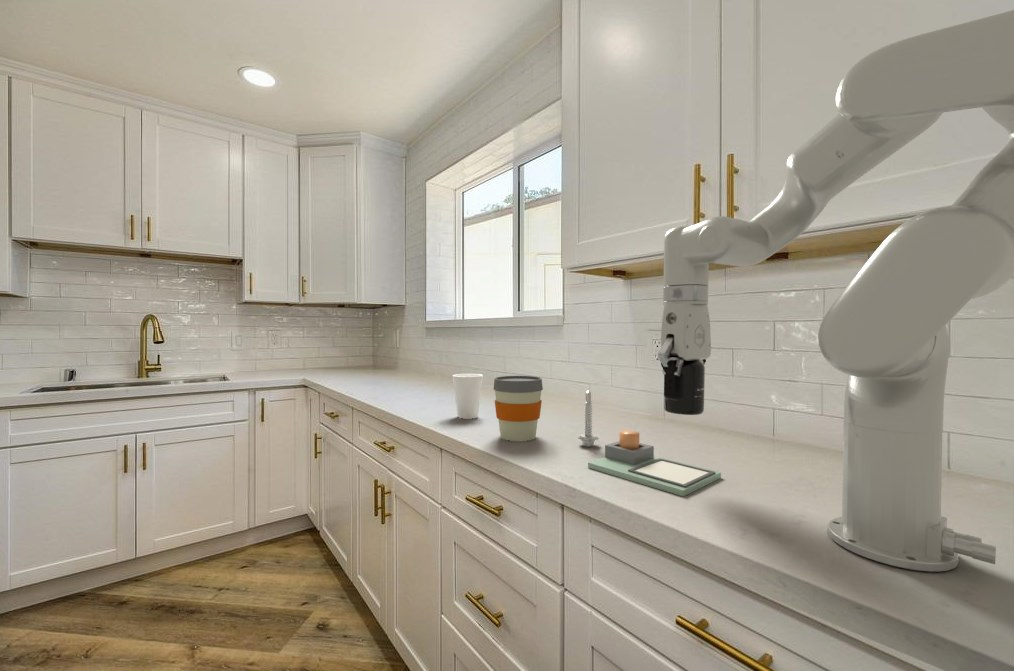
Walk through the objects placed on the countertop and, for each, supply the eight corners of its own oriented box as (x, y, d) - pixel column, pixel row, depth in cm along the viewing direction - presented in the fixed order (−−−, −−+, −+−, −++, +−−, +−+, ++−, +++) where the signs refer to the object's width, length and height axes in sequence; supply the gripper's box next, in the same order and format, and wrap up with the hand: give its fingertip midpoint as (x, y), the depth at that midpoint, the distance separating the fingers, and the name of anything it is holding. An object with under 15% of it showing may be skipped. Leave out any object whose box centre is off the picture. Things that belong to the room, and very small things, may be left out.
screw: (579, 448, 103) (576, 442, 108) (600, 448, 103) (596, 442, 108) (579, 392, 103) (576, 389, 107) (600, 392, 103) (596, 389, 107)
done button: (643, 452, 92) (643, 432, 92) (632, 455, 89) (632, 436, 89) (626, 448, 95) (626, 429, 95) (615, 451, 92) (615, 432, 92)
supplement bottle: (708, 416, 77) (709, 347, 76) (666, 414, 78) (667, 346, 78) (699, 409, 84) (700, 345, 83) (661, 407, 85) (662, 344, 85)
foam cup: (471, 412, 146) (471, 373, 145) (489, 417, 138) (488, 375, 138) (447, 416, 140) (446, 375, 139) (463, 421, 132) (463, 377, 132)
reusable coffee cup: (486, 433, 117) (486, 376, 117) (529, 429, 122) (529, 374, 122) (504, 445, 105) (504, 382, 105) (551, 440, 110) (551, 379, 110)
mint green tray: (720, 477, 83) (721, 459, 83) (683, 496, 74) (683, 475, 74) (628, 454, 98) (628, 438, 98) (587, 467, 89) (588, 450, 89)
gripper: (680, 293, 72) (679, 403, 72) (727, 298, 83) (726, 393, 84) (639, 295, 77) (638, 397, 78) (689, 299, 89) (687, 388, 89)
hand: (683, 394), depth 81 cm, fingers closed on supplement bottle, 6 cm apart
